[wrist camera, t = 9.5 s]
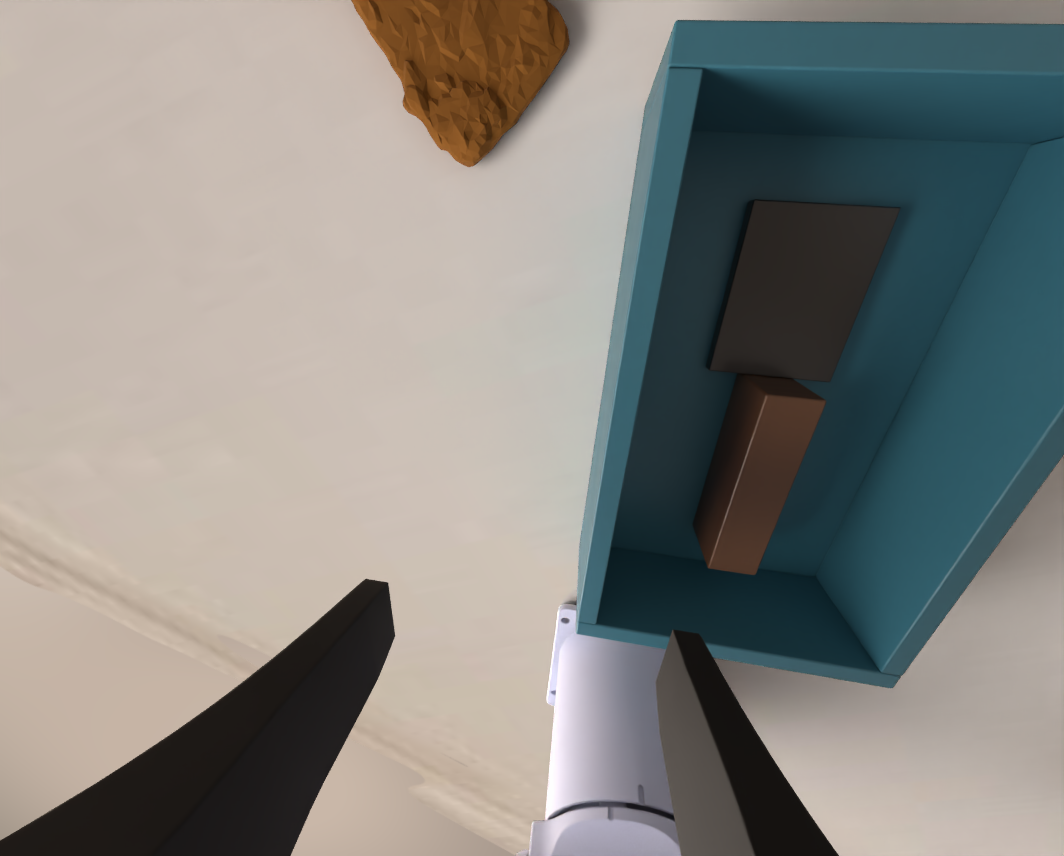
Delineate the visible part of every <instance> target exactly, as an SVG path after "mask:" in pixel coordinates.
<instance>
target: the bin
mask: <svg viewBox="0 0 1064 856" xmlns="http://www.w3.org/2000/svg"><path fill="white" fill-rule="evenodd" d="M755 199H759V200H778V201H796V202H814V203H832V204H850V205H868V206H886V207H900V208H901V209H900V212H899V214H898V217H897V219H896V222H895V224H894V227H893V229H892V231H891V234H890V236H889V239H888V241H887V244H886V246H885V249H884V251H883V254H882V256H881V259H880V261H879V263H878V266H877V268H876V271H875V273H874V276H873V278H872V281H871V283H870V286H869V288H868V291H867V293H866V295H865V298H864V300H863V303H862V305H861V308H860V310H859V313H858V315H857V318H856V320H855V323H854V325H853V327H852V330H851V332H850V335H849V337H848V340H847V342H846V345H845V347H844V350H843V352H842V355H841V357H840V359H839V362H838V364H837V367H836V369H835V372H834V374H833V377H832V379H831V382H819V381H809V380H799V379H794V380H795V381H797V382H798V383H800V384H801V385H803V386H805V387H806V388H808V389H809V390H811V391H812V392H814V393H816V394H817V395H819V396H820V397H822V398H823V399H825V400H826V405H825V407H824V410H823V412H822V415H821V417H820V420H819V422H818V424H817V427H816V429H815V432H814V434H813V437H812V439H811V441H810V444H809V446H808V449H807V451H806V454H805V456H804V458H803V461H802V463H801V466H800V468H799V471H798V473H797V475H796V478H795V480H794V483H793V485H792V488H791V490H790V492H789V495H788V497H787V500H786V502H785V505H784V507H783V509H782V512H781V514H780V517H779V519H778V522H777V524H776V526H775V529H774V531H773V534H772V536H771V539H770V541H769V544H768V546H767V548H766V551H765V553H764V556H763V558H762V561H761V563H760V565H759V568H758V570H757V573H756V575H749V574H742V573H735V572H729V571H722V570H715V569H709V568H708V567H707V564H706V561H705V559H704V556H703V553H702V550H701V548H700V545H699V542H698V539H697V537H696V534H695V531H694V528H693V525H692V524H693V521H694V518H695V514H696V511H697V507H698V504H699V501H700V497H701V494H702V491H703V487H704V484H705V481H706V477H707V474H708V470H709V467H710V464H711V460H712V457H713V454H714V450H715V447H716V444H717V440H718V437H719V434H720V430H721V427H722V423H723V420H724V417H725V413H726V410H727V407H728V403H729V400H730V397H731V393H732V390H733V387H734V383H735V380H736V376H737V373H729V372H719V371H710V370H708V369H707V368H706V363H707V359H708V355H709V351H710V347H711V343H712V339H713V336H714V332H715V328H716V324H717V320H718V316H719V313H720V309H721V305H722V301H723V297H724V293H725V289H726V286H727V282H728V278H729V274H730V270H731V266H732V262H733V259H734V255H735V251H736V247H737V243H738V239H739V236H740V232H741V228H742V224H743V220H744V216H745V212H746V209H747V205H748V202H749V201H752V200H755ZM1063 455H1064V24H1004V23H906V22H808V21H710V20H677V21H676V22H675V24H674V27H673V30H672V32H671V35H670V38H669V41H668V44H667V46H666V49H665V52H664V55H663V58H662V60H661V63H660V66H659V69H658V72H657V74H656V77H655V80H654V83H653V86H652V89H651V91H650V94H649V97H648V100H647V103H646V105H645V110H644V117H643V124H642V131H641V137H640V144H639V151H638V157H637V164H636V171H635V177H634V184H633V191H632V198H631V204H630V211H629V218H628V224H627V231H626V238H625V244H624V251H623V258H622V265H621V271H620V278H619V285H618V291H617V298H616V305H615V311H614V318H613V325H612V332H611V338H610V345H609V352H608V358H607V365H606V372H605V378H604V385H603V392H602V399H601V405H600V412H599V419H598V425H597V432H596V439H595V445H594V452H593V459H592V466H591V472H590V479H589V486H588V492H587V499H586V506H585V512H584V519H583V526H582V533H581V539H580V546H579V566H578V587H577V608H576V629H575V632H576V634H579V635H585V636H591V637H597V638H602V639H608V640H614V641H620V642H625V643H631V644H637V645H643V646H649V647H654V648H660V649H666V648H667V645H668V642H669V639H670V636H671V633H672V630H673V629H674V630H680V631H686V632H692V633H698V634H700V636H701V637H702V638H703V640H704V642H705V644H706V646H707V647H708V649H709V651H710V653H711V655H712V657H713V658H718V659H724V660H730V661H735V662H741V663H747V664H753V665H759V666H764V667H770V668H776V669H782V670H788V671H793V672H799V673H805V674H811V675H817V676H822V677H828V678H834V679H840V680H845V681H851V682H857V683H863V684H869V685H874V686H880V687H886V688H893V687H894V686H895V684H896V683H897V682H898V680H899V679H900V676H902V675H903V674H904V673H905V671H906V670H907V668H908V667H909V666H910V664H911V663H912V662H913V660H914V659H915V657H916V656H917V655H918V653H919V652H920V651H921V649H922V648H923V647H924V645H925V644H926V642H927V641H928V640H929V638H930V637H931V636H932V634H933V633H934V632H935V630H936V629H937V627H938V626H939V625H940V623H941V622H942V621H943V619H944V618H945V616H946V615H947V614H948V612H949V611H950V610H951V608H952V607H953V606H954V604H955V603H956V601H957V600H958V599H959V597H960V596H961V595H962V593H963V592H964V591H965V589H966V588H967V586H968V585H969V584H970V582H971V581H972V580H973V578H974V577H975V575H976V574H977V573H978V571H979V570H980V569H981V567H982V566H983V565H984V563H985V562H986V560H987V559H988V558H989V556H990V555H991V554H992V552H993V551H994V549H995V548H996V547H997V545H998V544H999V543H1000V541H1001V540H1002V539H1003V537H1004V536H1005V534H1006V533H1007V532H1008V530H1009V529H1010V528H1011V526H1012V525H1013V524H1014V522H1015V521H1016V519H1017V518H1018V517H1019V515H1020V514H1021V513H1022V511H1023V510H1024V508H1025V507H1026V506H1027V504H1028V503H1029V502H1030V500H1031V499H1032V498H1033V496H1034V495H1035V493H1036V492H1037V491H1038V489H1039V488H1040V487H1041V485H1042V484H1043V483H1044V481H1045V480H1046V478H1047V477H1048V476H1049V474H1050V473H1051V472H1052V470H1053V469H1054V467H1055V466H1056V465H1057V463H1058V462H1059V461H1060V459H1061V458H1062V457H1063Z"/></svg>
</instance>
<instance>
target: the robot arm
mask: <svg viewBox="0 0 1064 856" xmlns="http://www.w3.org/2000/svg"><path fill="white" fill-rule="evenodd" d="M576 608H577V605H572V604H562V605H560V606H559V609H558V616H557V624H556V631H555V639H554V647H553V654H552V662H551V669H550V677H549V685H548V692H547V702H548V703H549V704H550V705H553V706H555V709H554V721H553V733H552V745H551V756H550V768H549V780H548V791H547V803H546V815H545V820H542V821H533V822H532V828H531V838H530V847H529V850H522V851H519V852H517V854H516V855H515V856H839V855H838V854H837V852H836V851H835V850H834V848H833V847H832V845H831V844H830V843H829V841H828V840H827V838H826V837H825V836H824V834H823V833H822V831H821V830H820V828H819V827H818V826H817V824H816V823H815V821H814V820H813V818H812V817H811V815H810V814H809V812H808V811H807V810H806V808H805V807H804V805H803V804H802V802H801V801H800V799H799V798H798V796H797V795H796V793H795V792H794V790H793V789H792V787H791V786H790V784H789V783H788V781H787V780H786V778H785V777H784V775H783V773H782V772H781V770H780V769H779V767H778V766H777V764H776V763H775V761H774V759H773V758H772V756H771V755H770V753H769V752H768V750H767V748H766V747H765V745H764V744H763V742H762V740H761V739H760V737H759V735H758V734H757V732H756V731H755V729H754V727H753V726H752V724H751V722H750V721H749V719H748V718H747V716H746V714H745V713H744V711H743V709H742V708H741V706H740V704H739V702H738V701H737V699H736V697H735V696H734V694H733V692H732V690H731V689H730V687H729V685H728V683H727V682H726V680H725V678H724V676H723V675H722V673H721V671H720V669H719V667H718V666H717V664H716V662H715V660H714V658H713V657H712V655H711V653H710V651H709V649H708V647H707V646H706V644H705V642H704V640H703V638H702V637H701V636H700V634H698V633H692V632H686V631H680V630H674V629H673V630H672V633H671V636H670V639H669V642H668V645H667V648H666V649H660V648H654V647H649V646H643V645H637V644H631V643H625V642H620V641H614V640H608V639H602V638H597V637H591V636H585V635H579V634H576V632H575V629H576ZM564 617H566V618H564ZM394 637H395V632H394V624H393V617H392V609H391V601H390V594H389V586H388V583H387V582H381V581H375V580H369V579H365V580H364V581H362V582H361V583H360V584H359V585H358V586H357V587H355V588H354V589H353V590H352V591H351V592H350V593H349V594H348V595H346V596H345V597H344V598H343V599H342V600H341V601H340V602H338V603H337V604H336V605H335V606H334V607H333V608H332V609H331V610H329V611H328V612H327V613H326V614H325V615H324V616H322V617H321V618H320V619H319V620H318V621H317V622H316V623H314V624H313V625H312V626H311V627H310V628H309V629H307V630H306V631H305V632H304V633H303V634H301V635H300V636H299V637H298V638H297V639H295V640H294V641H293V642H292V643H291V644H290V645H288V646H287V647H286V648H285V649H284V650H282V651H281V652H280V653H279V654H278V655H276V656H275V657H274V658H273V659H271V660H270V661H269V662H268V663H266V664H265V665H264V666H262V667H261V668H260V669H259V670H257V671H256V672H255V673H254V674H252V675H251V676H250V677H248V678H247V679H246V680H245V681H243V682H242V683H241V684H240V685H238V686H237V687H236V688H234V689H233V690H232V691H230V692H229V693H228V694H226V695H225V696H224V697H222V698H221V699H220V700H219V701H217V702H216V703H214V704H213V705H212V706H210V707H209V708H207V709H206V710H205V711H203V712H202V713H200V714H199V715H198V716H196V717H195V718H193V719H192V720H191V721H189V722H188V723H186V724H185V725H183V726H182V727H181V728H179V729H178V730H176V731H175V732H173V733H172V734H171V735H169V736H168V737H166V738H165V739H163V740H162V741H160V742H159V743H157V744H156V745H154V746H153V747H151V748H150V749H148V750H147V751H145V752H144V753H142V754H141V755H139V756H137V757H136V758H135V759H133V760H132V761H130V762H129V763H127V764H126V765H124V766H122V767H121V768H119V769H118V770H116V771H115V772H113V773H112V774H110V775H109V776H107V777H105V778H104V779H102V780H100V781H99V782H97V783H96V784H94V785H93V786H91V787H89V788H87V789H86V790H84V791H83V792H81V793H79V794H77V795H76V796H74V797H73V798H71V799H69V800H67V801H66V802H64V803H63V804H61V805H59V806H58V807H56V808H54V809H52V810H51V811H49V812H47V813H46V814H44V815H43V816H41V817H39V818H37V819H36V820H34V821H33V822H31V823H29V824H27V825H26V826H24V827H22V828H21V829H19V830H18V831H16V832H14V833H12V834H11V835H9V836H7V837H6V838H4V839H2V840H0V856H291V853H292V851H293V849H294V846H295V844H296V842H297V839H298V837H299V835H300V833H301V830H302V828H303V826H304V823H305V821H306V819H307V817H308V814H309V812H310V809H311V808H312V805H313V803H314V801H315V799H316V797H317V795H318V793H319V791H320V789H321V787H322V785H323V783H324V781H325V779H326V777H327V775H328V773H329V771H330V770H331V768H332V766H333V764H334V762H335V760H336V758H337V756H338V754H339V752H340V751H341V749H342V747H343V745H344V743H345V741H346V739H347V737H348V735H349V733H350V731H351V730H352V728H353V726H354V724H355V722H356V720H357V718H358V716H359V714H360V712H361V711H362V709H363V707H364V705H365V703H366V701H367V699H368V697H369V695H370V693H371V691H372V689H373V687H374V685H375V683H376V681H377V680H378V677H379V675H380V672H381V670H382V668H383V665H384V663H385V660H386V658H387V655H388V653H389V650H390V648H391V645H392V642H393V640H394Z"/></svg>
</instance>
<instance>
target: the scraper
mask: <svg viewBox="0 0 1064 856" xmlns="http://www.w3.org/2000/svg"><path fill="white" fill-rule="evenodd" d="M900 209H901V208H900V207H886V206H868V205H850V204H832V203H814V202H796V201H778V200H759V199H755V200H752V201H749V202H748V205H747V209H746V212H745V216H744V220H743V224H742V228H741V232H740V236H739V239H738V243H737V247H736V251H735V255H734V259H733V262H732V266H731V270H730V274H729V278H728V282H727V286H726V289H725V293H724V297H723V301H722V305H721V309H720V313H719V316H718V320H717V324H716V328H715V332H714V336H713V339H712V343H711V347H710V351H709V355H708V359H707V363H706V368H707V369H708V370H710V371H719V372H729V373H737V376H736V380H735V383H734V387H733V390H732V393H731V397H730V400H729V403H728V407H727V410H726V413H725V417H724V420H723V423H722V427H721V430H720V434H719V437H718V440H717V444H716V447H715V450H714V454H713V457H712V460H711V464H710V467H709V470H708V474H707V477H706V481H705V484H704V487H703V491H702V494H701V497H700V501H699V504H698V507H697V511H696V514H695V518H694V521H693V524H692V525H693V528H694V531H695V534H696V537H697V539H698V542H699V545H700V548H701V550H702V553H703V556H704V559H705V561H706V564H707V567H708V568H709V569H715V570H722V571H729V572H735V573H742V574H749V575H756V573H757V570H758V568H759V565H760V563H761V561H762V558H763V556H764V553H765V551H766V548H767V546H768V544H769V541H770V539H771V536H772V534H773V531H774V529H775V526H776V524H777V522H778V519H779V517H780V514H781V512H782V509H783V507H784V505H785V502H786V500H787V497H788V495H789V492H790V490H791V488H792V485H793V483H794V480H795V478H796V475H797V473H798V471H799V468H800V466H801V463H802V461H803V458H804V456H805V454H806V451H807V449H808V446H809V444H810V441H811V439H812V437H813V434H814V432H815V429H816V427H817V424H818V422H819V420H820V417H821V415H822V412H823V410H824V407H825V405H826V400H825V399H823V398H822V397H820V396H819V395H817V394H816V393H814V392H812V391H811V390H809V389H808V388H806V387H805V386H803V385H801V384H800V383H798V382H797V381H795V380H794V379H799V380H809V381H819V382H831V379H832V377H833V374H834V372H835V369H836V367H837V364H838V362H839V359H840V357H841V355H842V352H843V350H844V347H845V345H846V342H847V340H848V337H849V335H850V332H851V330H852V327H853V325H854V323H855V320H856V318H857V315H858V313H859V310H860V308H861V305H862V303H863V300H864V298H865V295H866V293H867V291H868V288H869V286H870V283H871V281H872V278H873V276H874V273H875V271H876V268H877V266H878V263H879V261H880V259H881V256H882V254H883V251H884V249H885V246H886V244H887V241H888V239H889V236H890V234H891V231H892V229H893V227H894V224H895V222H896V219H897V217H898V214H899V212H900Z"/></svg>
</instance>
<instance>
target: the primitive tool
mask: <svg viewBox="0 0 1064 856" xmlns="http://www.w3.org/2000/svg"><path fill="white" fill-rule="evenodd" d="M351 1H352V2H353V4H354V6H355V9H356V11H357V12H358V14H359V15H360V17H361V18H362V19H363V21H364V23H365V25H366V26H367V28H368V30H369V32H370V34H371V35H372V37H373V38H374V40H375V41H376V43H377V44H378V45H379V47H380V48H381V49H382V51H383V52H384V53H385V55H386V56H387V58H388V60H389V62H390V64H391V66H392V68H393V69H394V71H395V72H396V74H397V75H398V77H399V78H400V80H401V82H402V85H403V88H404V91H405V95H404V99H403V106H404V108H405V109H406V110H407V112H408V113H410V114H412V115H414V116H416V117H417V118H419V119H420V120H421V121H422V122H423V123H424V125H425V126H426V128H427V130H428V132H429V134H430V135H431V137H432V138H433V140H434V141H435V143H436V144H437V146H438V147H439V148H440V149H441V150H446V151H448V152H449V153H450V154H451V155H452V157H453V158H454V159H455V160H456V161H458V162H459V163H461V164H463V165H465V166H467V167H471V166H474V165H475V164H476V163H478V162H479V161H480V160H481V159H482V158H483V157H484V156H486V155H487V154H488V153H489V152H490V151H491V150H492V149H493V147H494V146H495V145H496V144H497V142H498V141H499V140H500V138H501V137H502V135H503V134H504V133H505V132H507V131H508V130H509V129H510V128H511V127H513V126H514V125H515V124H516V123H517V121H518V120H519V118H520V117H521V115H522V113H523V112H524V110H525V109H526V108H527V106H528V105H529V104H530V102H531V101H532V100H533V99H534V97H535V96H536V94H537V93H538V92H539V90H540V89H541V87H542V86H543V85H544V83H545V82H546V80H547V79H548V77H549V76H550V75H551V73H552V72H553V70H554V68H555V67H556V65H557V64H558V62H559V61H560V59H561V58H562V56H563V55H564V54H565V52H566V51H567V49H568V46H569V35H568V29H567V26H566V24H565V22H564V20H563V18H562V16H561V14H560V13H559V11H558V10H557V9H556V8H555V7H554V6H553V5H552V4H551V3H549V2H548V1H547V0H351Z"/></svg>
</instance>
